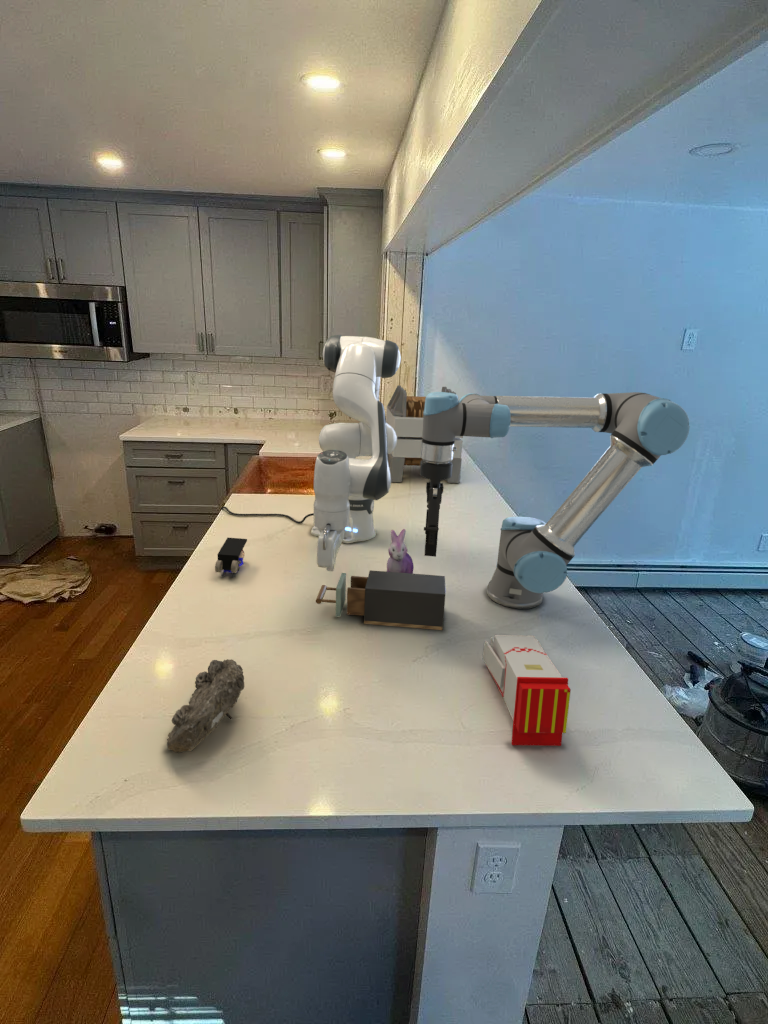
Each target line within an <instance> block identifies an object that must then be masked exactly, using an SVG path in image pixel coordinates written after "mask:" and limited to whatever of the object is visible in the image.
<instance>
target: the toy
mask: <svg viewBox="0 0 768 1024" xmlns="http://www.w3.org/2000/svg"><path fill="white" fill-rule="evenodd" d="M482 660H483V663H485V666H486V668H487V669H488V672H489V673H490V675H491V677H492V679H493V681H494V683H495V685H496V687H497V689H498V692H499V693H500V694H501V697H502V698H503V702H504V703H505V706H506V708H507V710H508V712H509V715H510V717H511V720H512V721H513V722H512V731H511V732H512V733H511V746H534V747H535V746H536V747H537V746H542V747H545V746H546V747H548V746H549V747H550V746H551V747H562V743H563V734H567V727H568V717H569V709H570V698H571V690H572V689H571V688H570V686H569V678H568V677H563V676H562V675H561V673H560V672H559V670H558V669H557V667H556V666H555V664H554V663H553V662H552V660H551V658H550V657H549V655H548V654H547V653H546V651H545V650H544V648H543V647H542V644H541V642H540V640H538V639H537V637H536V636H535V635H521V634H520V635H517V634H494V636H490V642H488V640H485V641H484V645H483V653H482Z"/></svg>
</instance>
